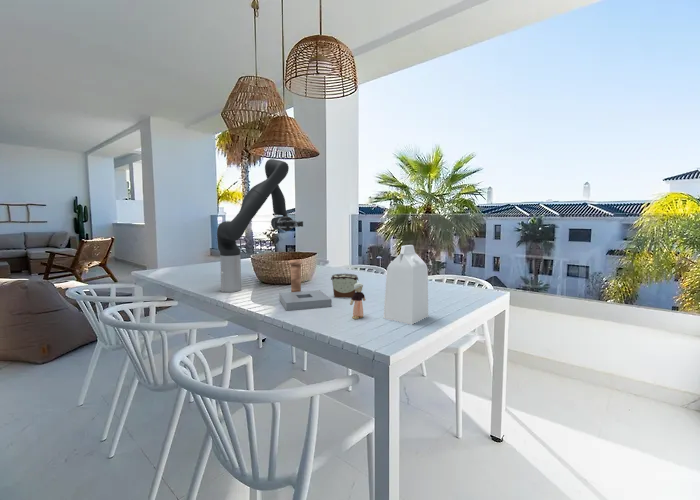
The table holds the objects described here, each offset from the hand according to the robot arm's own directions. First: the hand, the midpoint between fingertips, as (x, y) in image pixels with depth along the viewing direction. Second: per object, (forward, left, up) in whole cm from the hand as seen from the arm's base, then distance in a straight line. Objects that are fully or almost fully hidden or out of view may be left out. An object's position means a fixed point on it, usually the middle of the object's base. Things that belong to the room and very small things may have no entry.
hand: (290, 224), depth 170 cm
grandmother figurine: (+14, -55, -32) cm, 65 cm away
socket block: (0, -29, -32) cm, 43 cm away
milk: (+30, -61, -32) cm, 75 cm away
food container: (+20, -23, -32) cm, 44 cm away
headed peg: (0, -11, -32) cm, 34 cm away
